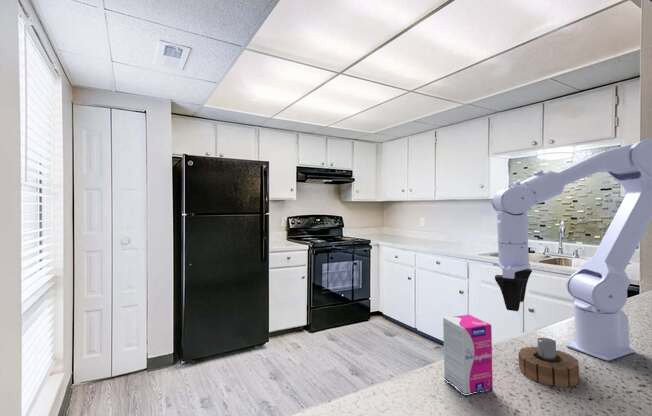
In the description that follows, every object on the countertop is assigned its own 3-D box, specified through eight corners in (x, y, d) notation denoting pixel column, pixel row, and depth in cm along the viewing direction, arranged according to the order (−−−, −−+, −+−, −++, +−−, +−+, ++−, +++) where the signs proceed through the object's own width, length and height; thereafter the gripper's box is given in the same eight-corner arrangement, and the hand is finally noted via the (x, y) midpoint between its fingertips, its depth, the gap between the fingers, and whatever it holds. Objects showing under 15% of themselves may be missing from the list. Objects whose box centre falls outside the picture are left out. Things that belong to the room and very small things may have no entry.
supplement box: (465, 398, 54) (462, 328, 54) (443, 380, 59) (441, 317, 59) (495, 391, 55) (492, 323, 55) (470, 374, 61) (468, 313, 61)
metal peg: (545, 368, 62) (544, 336, 62) (560, 375, 59) (559, 342, 59) (535, 371, 61) (533, 339, 61) (550, 378, 58) (548, 344, 58)
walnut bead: (541, 358, 66) (540, 343, 66) (591, 379, 58) (590, 362, 58) (508, 367, 63) (508, 352, 63) (556, 391, 54) (555, 373, 54)
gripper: (498, 239, 79) (501, 295, 79) (485, 245, 68) (487, 311, 68) (533, 240, 75) (535, 299, 75) (524, 247, 63) (527, 317, 63)
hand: (515, 305), depth 71 cm, fingers open, 7 cm apart
